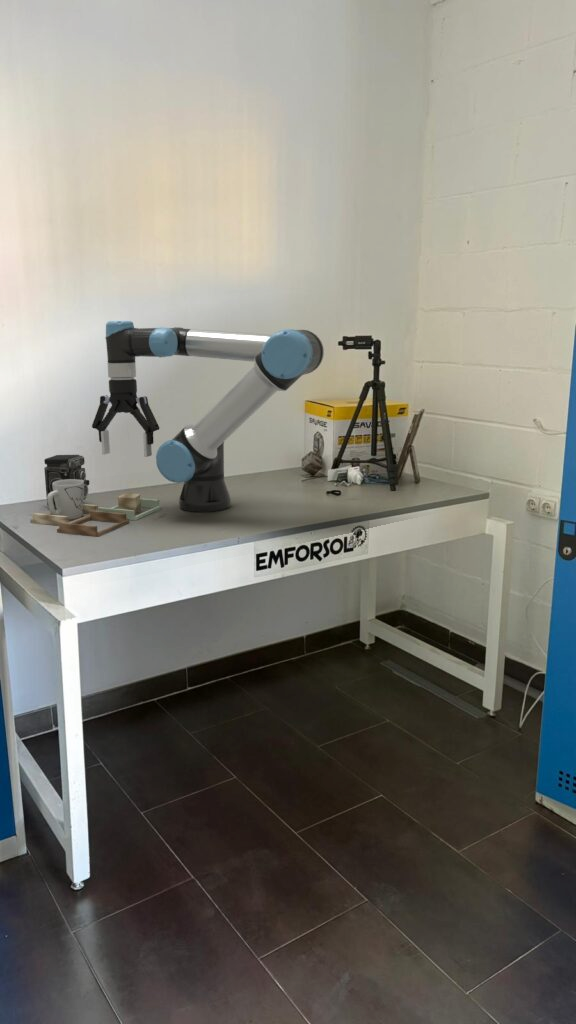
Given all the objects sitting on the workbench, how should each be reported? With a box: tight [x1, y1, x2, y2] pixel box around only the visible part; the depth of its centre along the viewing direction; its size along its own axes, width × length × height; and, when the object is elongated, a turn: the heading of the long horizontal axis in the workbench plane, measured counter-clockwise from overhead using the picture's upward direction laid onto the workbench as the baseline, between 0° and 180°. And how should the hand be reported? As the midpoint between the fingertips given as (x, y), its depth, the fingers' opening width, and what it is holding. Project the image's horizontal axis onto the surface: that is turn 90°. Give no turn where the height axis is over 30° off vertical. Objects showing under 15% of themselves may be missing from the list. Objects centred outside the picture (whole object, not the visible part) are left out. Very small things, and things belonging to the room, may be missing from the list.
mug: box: [46, 479, 85, 521], centre depth 213 cm, size 11×8×10 cm
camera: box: [44, 454, 90, 508], centre depth 227 cm, size 10×11×15 cm
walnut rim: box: [56, 510, 130, 537], centre depth 204 cm, size 13×15×2 cm
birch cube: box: [117, 493, 142, 516], centre depth 221 cm, size 5×5×5 cm
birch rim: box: [30, 503, 99, 526], centre depth 214 cm, size 13×15×2 cm
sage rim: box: [98, 497, 163, 521], centre depth 221 cm, size 13×15×2 cm
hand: (126, 455), depth 217 cm, fingers open, 13 cm apart
